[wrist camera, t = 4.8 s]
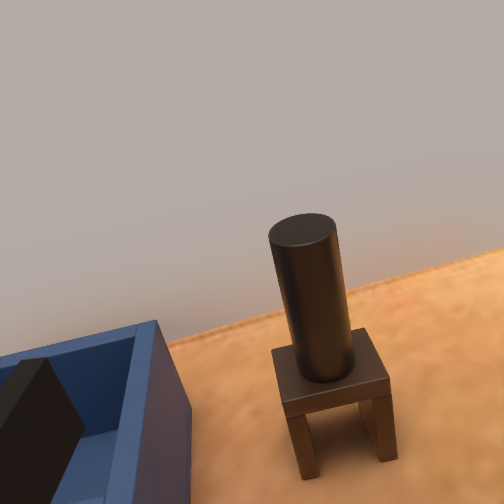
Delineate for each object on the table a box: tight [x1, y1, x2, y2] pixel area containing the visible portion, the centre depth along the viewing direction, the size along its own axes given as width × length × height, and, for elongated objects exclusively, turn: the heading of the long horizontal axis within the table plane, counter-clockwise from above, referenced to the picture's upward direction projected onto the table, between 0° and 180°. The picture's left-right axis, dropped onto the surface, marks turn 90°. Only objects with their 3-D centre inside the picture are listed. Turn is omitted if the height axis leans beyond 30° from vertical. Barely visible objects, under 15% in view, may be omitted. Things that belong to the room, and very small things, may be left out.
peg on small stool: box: [268, 213, 398, 480], centre depth 24 cm, size 5×4×14 cm
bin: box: [0, 320, 191, 504], centre depth 25 cm, size 12×12×8 cm
